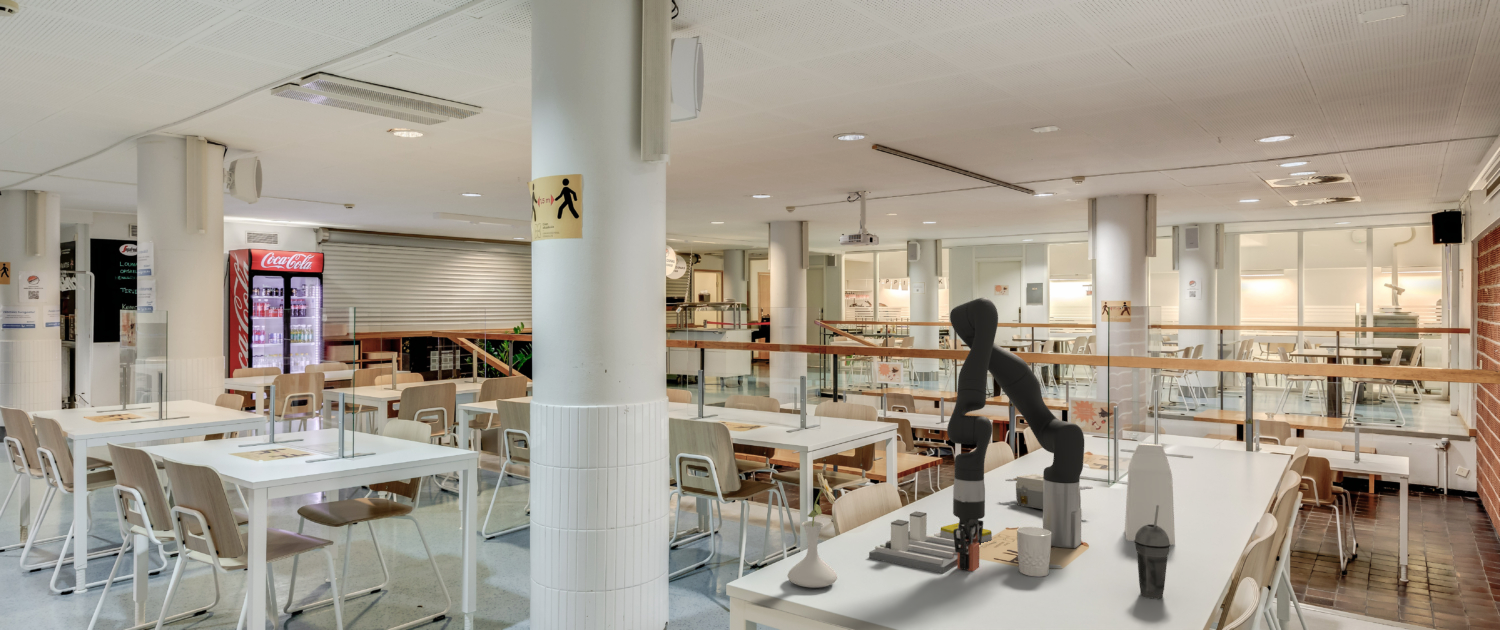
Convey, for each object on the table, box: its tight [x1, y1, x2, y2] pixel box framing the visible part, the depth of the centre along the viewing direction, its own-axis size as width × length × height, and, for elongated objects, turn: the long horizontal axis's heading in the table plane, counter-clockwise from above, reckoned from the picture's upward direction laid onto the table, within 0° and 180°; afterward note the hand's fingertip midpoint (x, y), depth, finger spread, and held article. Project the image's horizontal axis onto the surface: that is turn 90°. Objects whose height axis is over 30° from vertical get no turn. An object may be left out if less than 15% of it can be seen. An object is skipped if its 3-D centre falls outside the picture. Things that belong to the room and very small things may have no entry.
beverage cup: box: [1133, 505, 1171, 600], centre depth 184 cm, size 7×7×20 cm
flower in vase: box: [787, 472, 838, 589], centre depth 190 cm, size 13×11×25 cm
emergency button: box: [934, 522, 993, 543], centre depth 229 cm, size 9×4×15 cm
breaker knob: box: [890, 519, 910, 552], centre depth 210 cm, size 3×4×7 cm
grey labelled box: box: [1005, 473, 1094, 510], centre depth 265 cm, size 12×28×10 cm, turn 30°
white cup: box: [1016, 526, 1052, 578], centre depth 199 cm, size 8×8×10 cm
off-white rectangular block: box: [909, 510, 928, 542], centre depth 219 cm, size 3×4×7 cm
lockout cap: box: [956, 542, 980, 572], centre depth 203 cm, size 4×4×6 cm
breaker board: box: [868, 530, 958, 574], centre depth 213 cm, size 20×22×4 cm
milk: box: [1124, 443, 1176, 546], centre depth 232 cm, size 12×12×26 cm
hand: (968, 566), depth 203 cm, fingers open, 4 cm apart
